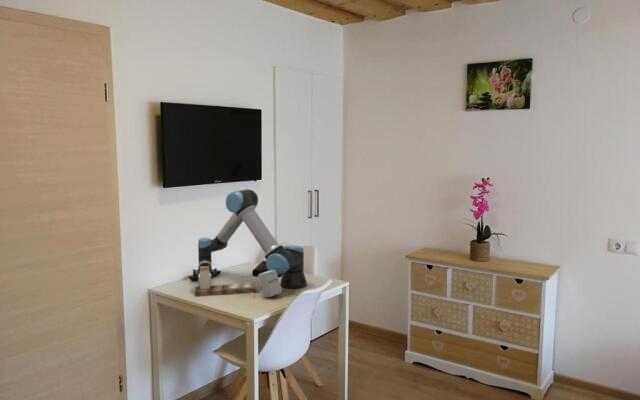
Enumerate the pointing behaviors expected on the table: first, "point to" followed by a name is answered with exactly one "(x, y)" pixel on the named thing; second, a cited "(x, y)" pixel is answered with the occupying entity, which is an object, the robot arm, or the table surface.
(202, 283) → the stub
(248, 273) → the table surface
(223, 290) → the board
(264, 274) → the supplement box
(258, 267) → the diary
